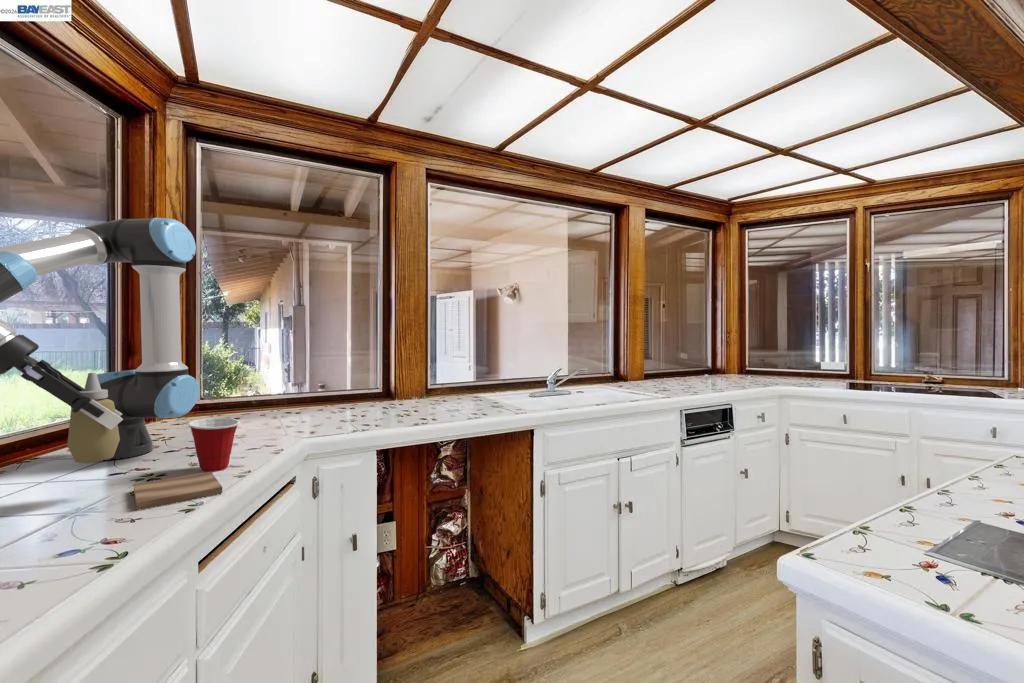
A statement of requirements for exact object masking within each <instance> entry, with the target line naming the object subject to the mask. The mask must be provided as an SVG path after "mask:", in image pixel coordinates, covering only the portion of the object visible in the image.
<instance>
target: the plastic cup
mask: <svg viewBox="0 0 1024 683" xmlns="http://www.w3.org/2000/svg"><path fill="white" fill-rule="evenodd" d="M240 423H241V421H240V420H238V419H236V418H230V417H210V418H209V417H208V418H200V419H195V420H191V421H189V423H188V426H189V428H190V430H191V431H190V432H191V434H192V438H193V441H194V442H193V443H194V447H195V448H194V449H195V452H196V457H197V459H198V460H197V461H198V466H199V469H200V471H201V472H203V473H205V472H217V471H221V470H225V469H227V468H228V467H229V463H230V457H231V453H232V450H233V445H234V440H235V433H236V431H237V428H238V426H239V424H240Z"/></svg>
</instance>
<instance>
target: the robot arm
mask: <svg viewBox="0 0 1024 683" xmlns="http://www.w3.org/2000/svg"><path fill="white" fill-rule="evenodd" d="M196 250H197V246H196V242H195V238H194V236H193V234H192V232H191V230H189V229H188V227H187V226H186V225H185V224H183V223H182V221H179V220H177V219H174V218H168V217H167V218H166V217H150V218H149V217H147V218H120V219H119V218H118V219H114V220H110V221H105V222H102V223H96V224H92V225H88V226H84V227H80V228H75V229H73V230H72V231H71V233H70V234H64V235H61V236H59V235H58V236H55V237H49V238H43V239H38V240H33V241H29V242H23V243H22V242H21V243H17V244H11V245H6V246H2V247H0V304H1V303H2V302H4V301H7V300H8V299H9V298H11V297H14V296H15V295H17V294H19V293H21V292H24V291H25V290H26V289H27V288H28V287H30V286H31V285H33V284H34V283H35V282H36V281H37V280H38V277H39V276H43V275H46V274H50V273H54V272H58V271H62V270H65V269H69V268H74V267H78V266H82V265H85V264H87V265H90V266H99V265H100V266H101V265H103V264H109V263H110V264H111V263H131V267H132V269H133V270H135V271H136V272H137V274H139V292H140V293H139V295H140V296H139V298H140V330H141V332H140V334H141V335H140V336H141V337H140V338H141V364H140V365H139V366H137V368H136V369H130V370H120V371H111V372H102V373H96V374H97V377H98V381H99V384H100V387H101V389H106V390H108V397H107V398H105V399H110V400H112V401H113V402H114V406H115V412H116V414H115V413H113V412H111V411H110V410H108V409H107V408H105V407H104V406H102V405H101V404H99V403H97V402H96V401H94V400H93V399H92V400H90V398H89V397H86V396H85V395H83V394H82V393H80V392H79V391H84V389H85V387H82V386H81V385H79V384H78V383H76V382H75V381H73V380H72V379H70V378H68V377H67V376H65V375H64V374H63V373H62V372H61V371H59V370H58V369H56V368H54V367H52V365H51V364H50V363H49V362H47V361H46V360H44V359H41V360H40V361H38V360H36V359H35V358H33V357H32V356H31V355H32V354H33V353H35V352H36V351H38V349H39V348H40V346H39V344H37V342H34V341H33V340H32V339H30V338H29V337H27V336H25V335H24V334H21V333H19V334H16V333H17V329H15V327H13V326H11V325H9V324H8V323H6V322H5V321H4V320H2V319H0V375H4V374H5V373H7V372H9V371H10V370H11V369H13V368H15V369H16V370H18V371H19V372H21V373H22V374H21V375H20V377H21V378H23V379H24V380H26V381H29V382H31V383H33V384H34V385H36V386H37V387H38V388H40V389H43V390H44V391H45V392H47V393H49V394H50V395H51V396H53V397H55V398H57V400H59V401H61V402H63V403H64V404H66V405H68V406H69V407H70V408H74V409H73V410H72V411H73V412H75V413H76V412H78V411H79V410H80V411H81V412H83V413H84V414H86V415H88V416H89V417H91V418H92V419H94V420H96V421H97V422H99V423H100V424H102V425H104V426H105V427H107V428H108V429H110V430H112V429H113V428H114V427H115V426H116V425H117V424H118V431H119V437H120V441H119V443H118V446H117V449H116V451H115V454H114V456H113V457H112V458H110V459H107V460H106V461H112V460H111V459H116V460H121V459H120V458H123V459H128V458H127V457H129V458H134V457H138V456H142V455H144V453H146V454H148V453H150V452H153V449H154V447H153V446H154V445H153V444H154V443H153V440H152V437H151V435H150V433H149V431H148V430H149V429H148V428H147V426H146V422H145V418H157V419H159V418H160V419H170V418H171V419H172V418H174V419H176V418H180V417H184V416H185V415H187V414H188V413H189V412H191V410H192V409H193V407H194V406H195V405H196V404H197V402H198V399H199V396H200V385H199V382H198V381H197V379H196V378H195V377H193V376H192V375H189V367H188V366H187V365H186V364H184V363H183V361H182V340H181V339H182V338H181V337H182V336H181V332H182V329H181V328H182V327H181V304H180V303H181V300H180V299H181V297H180V296H181V294H180V293H181V292H180V289H181V288H180V276H181V275H182V274H183V273H184V272H186V270H187V269H186V268H187V266H186V263H187V262H190V261H191V260H192V259H193V258H194V256H195V255H196ZM147 452H148V453H147ZM141 454H142V455H141ZM137 455H138V456H137ZM133 456H134V457H133Z"/></svg>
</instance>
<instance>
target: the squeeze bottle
mask: <svg viewBox="0 0 1024 683" xmlns="http://www.w3.org/2000/svg"><path fill="white" fill-rule="evenodd" d="M97 374H98V373H97V372H89V373H88V374H87V377H86V381H85V386H84V391H79V392H80V393H82V394H83V395H85V396H86V397H89V398H90V400H92V399H93V400H94V401H96V402H97V403H99V404H101V405H102V406H104V407H105V408H107V409H108V410H110V411H111V412H113V413H115V414H116V412H115V406H114V402H113V401H112V400H110V399H105V398H107V397H108V390H106V389H101V387H100V384H99V381H98V377H97ZM70 408H71V407H70ZM73 409H74V408H71V409H70V417H69V427H68V437H67V443H66V444H67V445H66V446H67V448H68V450H69V452H70V454H71V455H72V458H73V460H74V462H75V463H78V464H91V463H98V462H103V460H106V461H108V460H107V459H110V458H112V457H113V456H114V454H115V451H116V449H117V446H118V443H119V441H120V437H119V431H118V424H117V425H116V426H115V427H114V428H113V429H112V430H110V429H108V428H107V427H105V426H104V425H102V424H100V423H99V422H97V421H96V420H94V419H92V418H91V417H89V416H88V415H86V414H84V413H83V412H81V411H80V410H79V411H78V412H76V413H75V412H73V411H72V410H73Z"/></svg>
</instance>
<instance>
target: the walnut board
mask: <svg viewBox="0 0 1024 683" xmlns="http://www.w3.org/2000/svg"><path fill="white" fill-rule="evenodd" d="M221 493H222V494H223V486H222V484H221V483H220V481H219V480H218V479H217V477H216V476H215V475H214V473H213V471H211V472H200V473H195V474H188V475H183V476H182V475H181V476H177V477H169V478H165V479H158V480H153V481H152V480H151V481H145V482H141V483H134V484H133V496H134V495H135V496H134V500H135V501H136V502H135V501H134V502H135V506H136V507H137V508H136V511H137V510H138V511H140V510H139V509H143V510H146V509H145V508H148V509H152V508H151V507H153V508H156V507H155V506H158V507H162V506H161V505H163V506H168V505H172V504H171V503H173V504H176V502H178V503H182V501H183V502H187V501H186V500H189V501H193V500H192V499H194V500H198V499H197V498H199V499H203V498H202V497H204V498H208V497H207V496H209V497H212V496H213V495H214V496H218V495H217V494H219V495H222V494H221ZM214 496H213V497H214ZM167 504H168V505H167Z"/></svg>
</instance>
